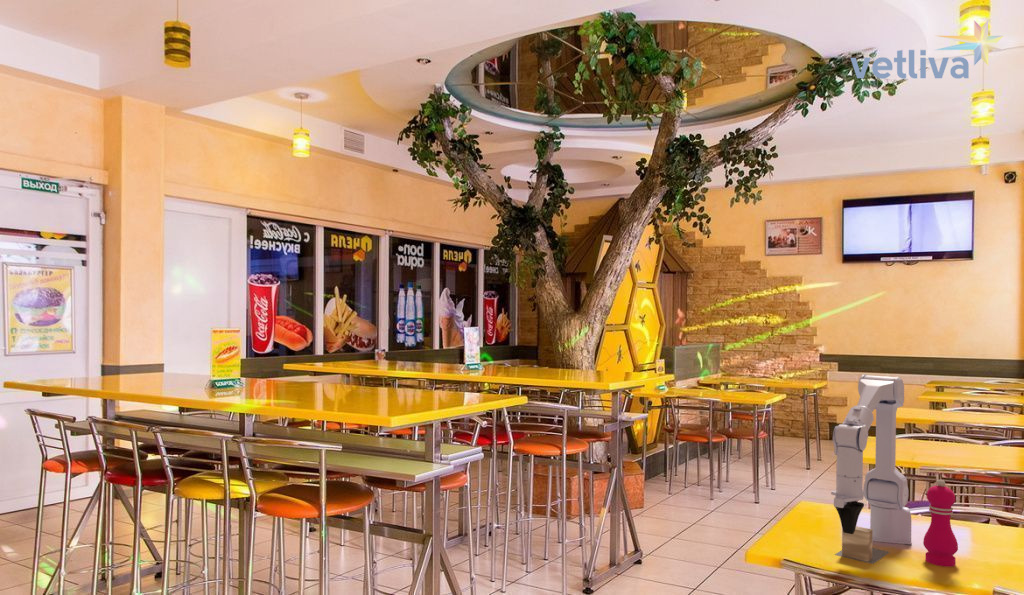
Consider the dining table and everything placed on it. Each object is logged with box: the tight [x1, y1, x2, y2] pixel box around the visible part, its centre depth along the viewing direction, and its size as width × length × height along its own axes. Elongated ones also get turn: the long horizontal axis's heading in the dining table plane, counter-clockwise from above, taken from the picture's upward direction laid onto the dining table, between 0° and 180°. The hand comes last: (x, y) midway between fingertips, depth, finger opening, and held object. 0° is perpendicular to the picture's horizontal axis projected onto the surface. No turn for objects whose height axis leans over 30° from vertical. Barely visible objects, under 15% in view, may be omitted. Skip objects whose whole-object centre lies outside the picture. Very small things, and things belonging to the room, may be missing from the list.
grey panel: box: [834, 547, 890, 565], centre depth 181 cm, size 13×9×1 cm
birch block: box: [841, 525, 873, 561], centre depth 178 cm, size 3×6×7 cm, turn 47°
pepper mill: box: [922, 479, 959, 568], centre depth 176 cm, size 7×7×20 cm
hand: (848, 532), depth 174 cm, fingers closed
